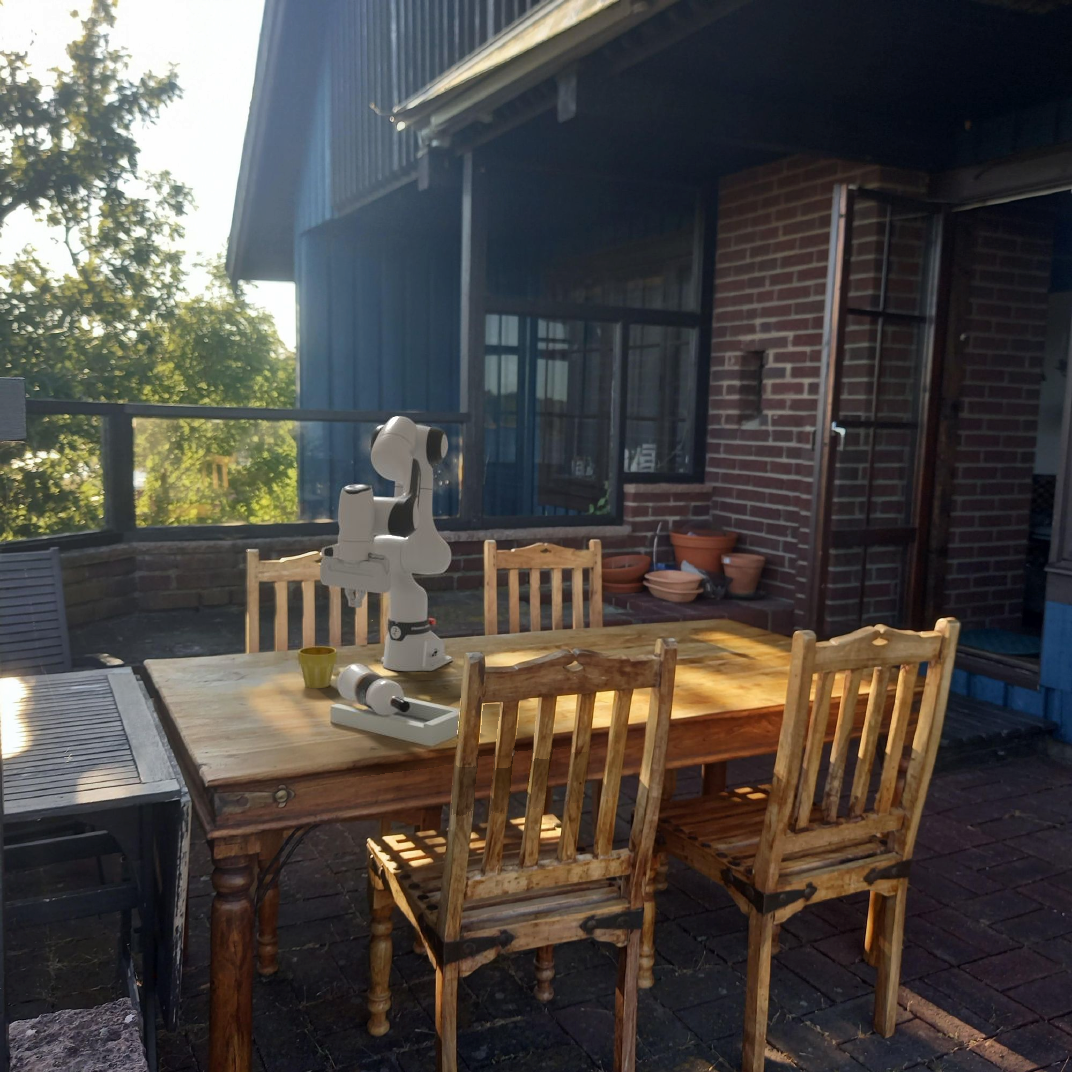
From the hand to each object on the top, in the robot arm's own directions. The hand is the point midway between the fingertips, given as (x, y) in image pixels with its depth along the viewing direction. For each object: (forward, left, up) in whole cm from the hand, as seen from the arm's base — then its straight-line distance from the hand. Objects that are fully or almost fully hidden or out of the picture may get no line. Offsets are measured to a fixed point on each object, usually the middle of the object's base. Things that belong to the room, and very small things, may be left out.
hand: (355, 606), depth 256 cm
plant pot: (-14, -25, -27) cm, 40 cm away
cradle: (0, +15, -27) cm, 31 cm away
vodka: (-3, -3, -20) cm, 20 cm away
